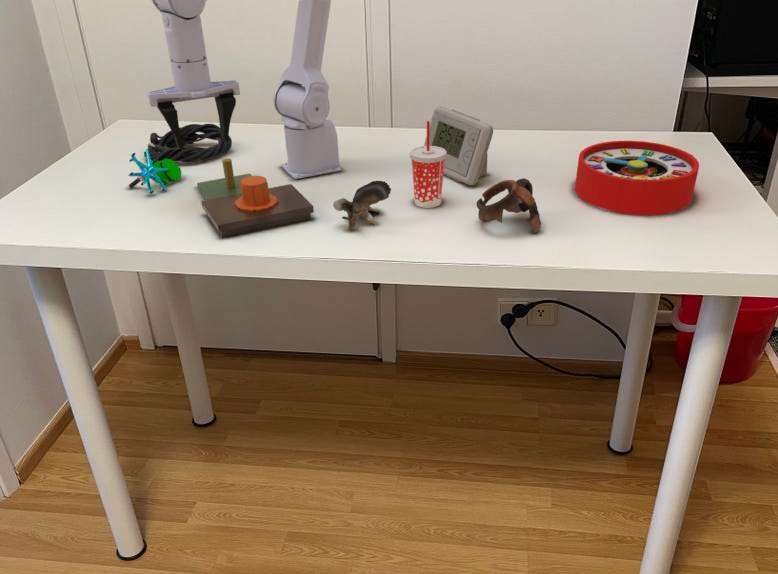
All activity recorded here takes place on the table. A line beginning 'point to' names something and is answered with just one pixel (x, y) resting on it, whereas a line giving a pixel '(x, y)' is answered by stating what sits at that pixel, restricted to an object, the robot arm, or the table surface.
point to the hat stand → (222, 183)
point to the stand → (238, 221)
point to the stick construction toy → (155, 172)
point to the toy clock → (636, 177)
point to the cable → (188, 137)
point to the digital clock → (461, 144)
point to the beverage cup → (428, 173)
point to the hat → (255, 195)
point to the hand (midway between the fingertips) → (202, 143)
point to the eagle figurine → (363, 202)
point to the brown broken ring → (510, 202)
